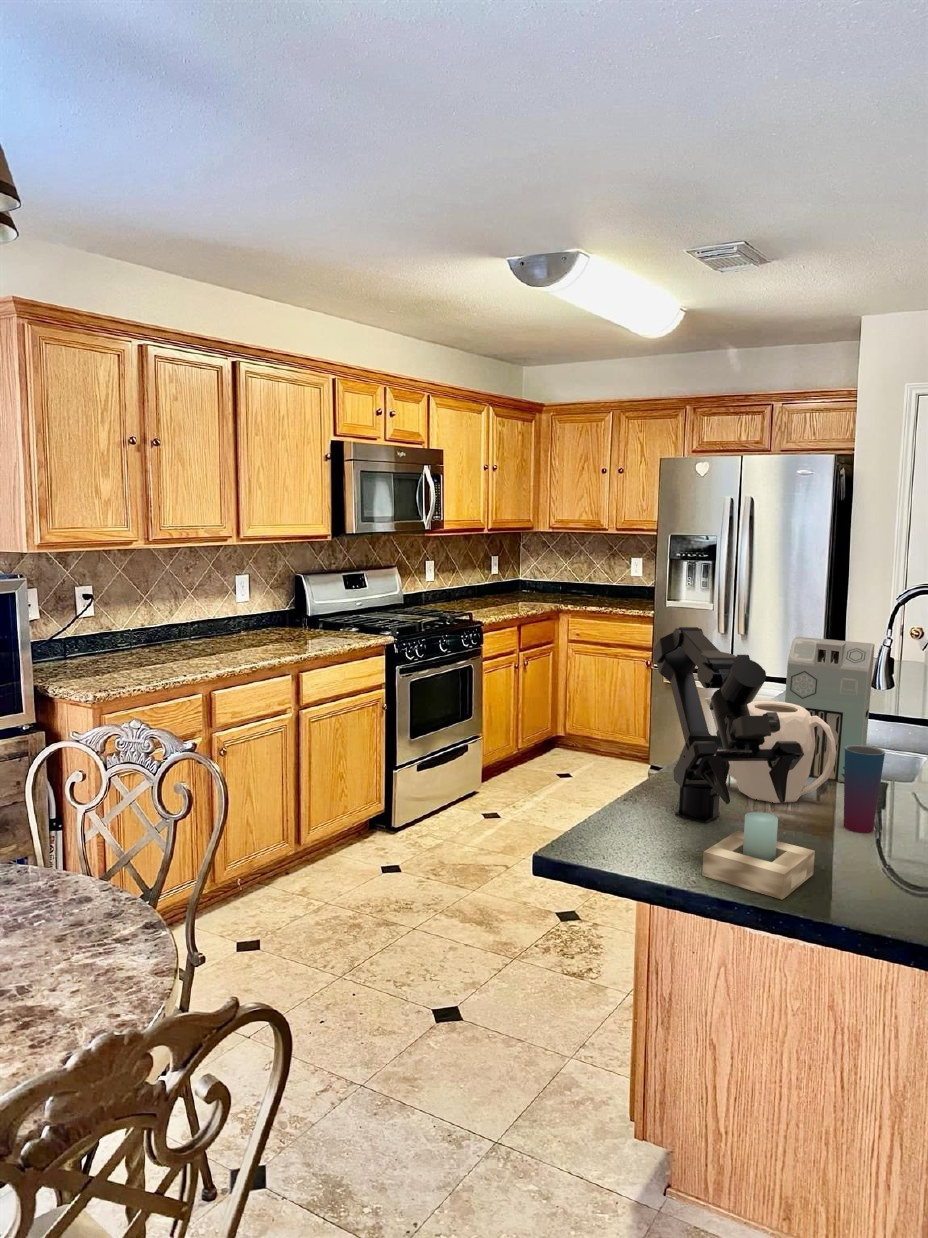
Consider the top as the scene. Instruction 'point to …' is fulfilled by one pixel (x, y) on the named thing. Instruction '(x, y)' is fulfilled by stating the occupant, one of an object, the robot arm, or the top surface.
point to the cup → (861, 786)
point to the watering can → (793, 728)
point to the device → (832, 694)
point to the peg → (760, 836)
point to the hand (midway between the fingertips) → (755, 802)
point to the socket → (758, 867)
